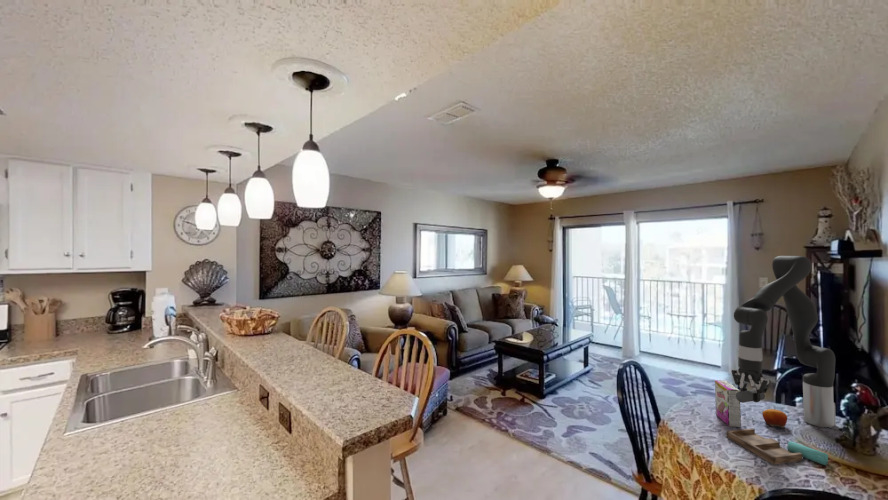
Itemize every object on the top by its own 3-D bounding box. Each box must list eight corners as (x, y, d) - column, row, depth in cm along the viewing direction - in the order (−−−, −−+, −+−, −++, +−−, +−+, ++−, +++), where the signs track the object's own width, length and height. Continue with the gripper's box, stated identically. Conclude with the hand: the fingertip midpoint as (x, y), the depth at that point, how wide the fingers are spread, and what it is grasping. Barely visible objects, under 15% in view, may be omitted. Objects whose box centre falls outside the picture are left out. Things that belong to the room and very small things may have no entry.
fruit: (769, 426, 156) (764, 406, 160) (762, 428, 162) (758, 409, 166) (794, 429, 153) (788, 409, 156) (786, 431, 159) (781, 411, 163)
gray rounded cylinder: (754, 397, 152) (754, 387, 152) (765, 401, 148) (764, 391, 149) (735, 400, 150) (735, 390, 150) (746, 404, 146) (745, 394, 146)
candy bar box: (715, 415, 171) (714, 379, 170) (727, 415, 170) (726, 380, 169) (728, 427, 160) (727, 389, 159) (741, 427, 159) (740, 389, 158)
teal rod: (792, 448, 142) (788, 453, 140) (791, 438, 141) (786, 444, 139) (828, 461, 133) (824, 467, 131) (827, 451, 132) (822, 457, 131)
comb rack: (752, 434, 153) (752, 428, 153) (802, 460, 134) (802, 453, 134) (726, 437, 152) (726, 431, 152) (773, 464, 133) (773, 457, 133)
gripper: (725, 353, 155) (725, 393, 155) (762, 363, 141) (762, 408, 141) (739, 351, 157) (739, 391, 157) (777, 361, 143) (776, 405, 143)
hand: (750, 399), depth 149 cm, fingers closed on gray rounded cylinder, 4 cm apart
